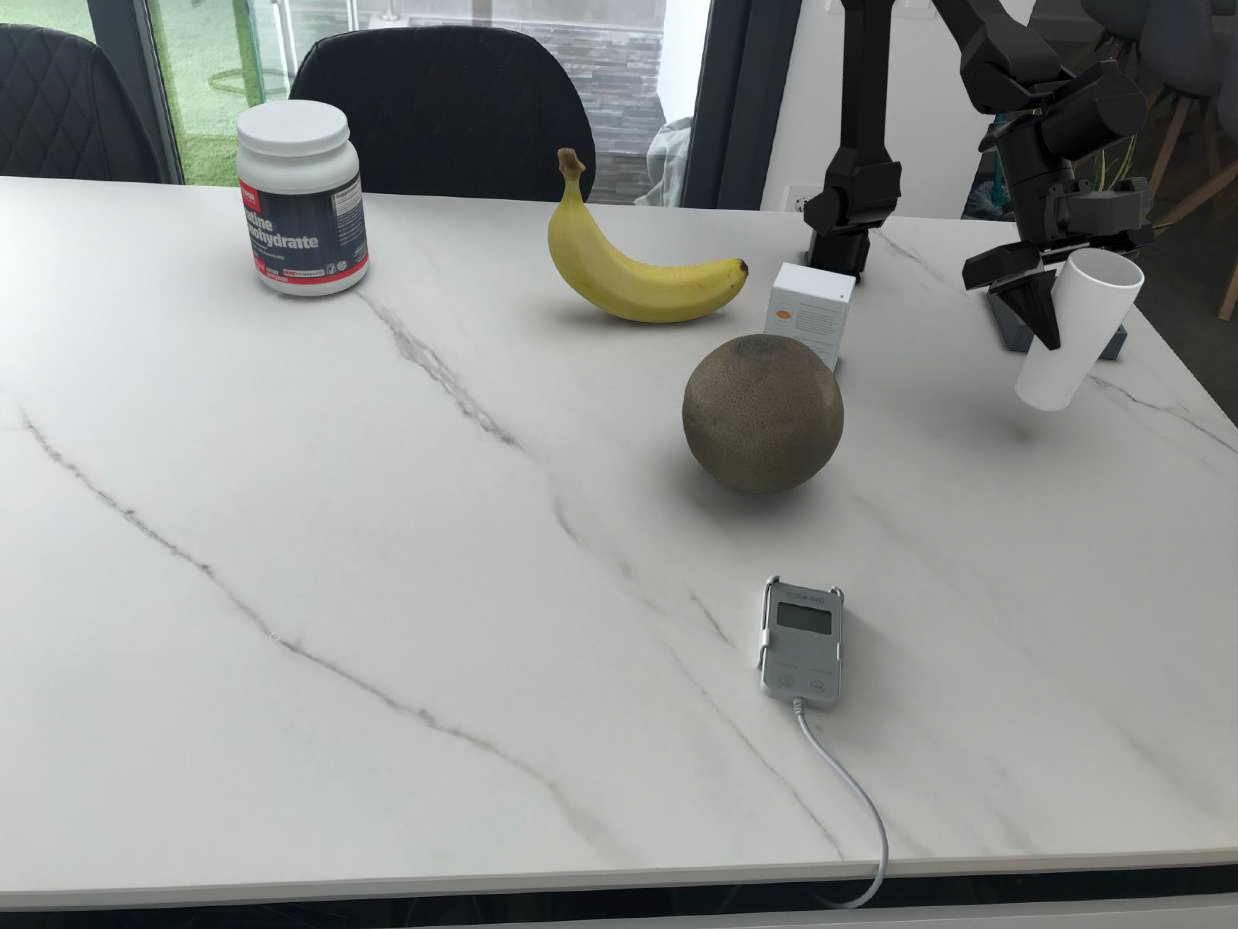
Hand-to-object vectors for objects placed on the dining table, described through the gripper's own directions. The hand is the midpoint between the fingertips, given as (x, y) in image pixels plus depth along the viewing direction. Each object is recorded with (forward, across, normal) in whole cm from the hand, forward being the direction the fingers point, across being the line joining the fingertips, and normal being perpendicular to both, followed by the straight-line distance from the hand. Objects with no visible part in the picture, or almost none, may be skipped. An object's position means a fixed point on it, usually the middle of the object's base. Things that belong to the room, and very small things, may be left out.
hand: (1081, 342), depth 91 cm
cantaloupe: (+5, -31, +13) cm, 34 cm away
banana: (-15, -27, +33) cm, 46 cm away
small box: (-5, -16, +23) cm, 29 cm away
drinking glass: (+4, 0, +7) cm, 8 cm away
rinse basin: (-3, +18, +20) cm, 27 cm away
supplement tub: (-30, -60, +49) cm, 83 cm away
